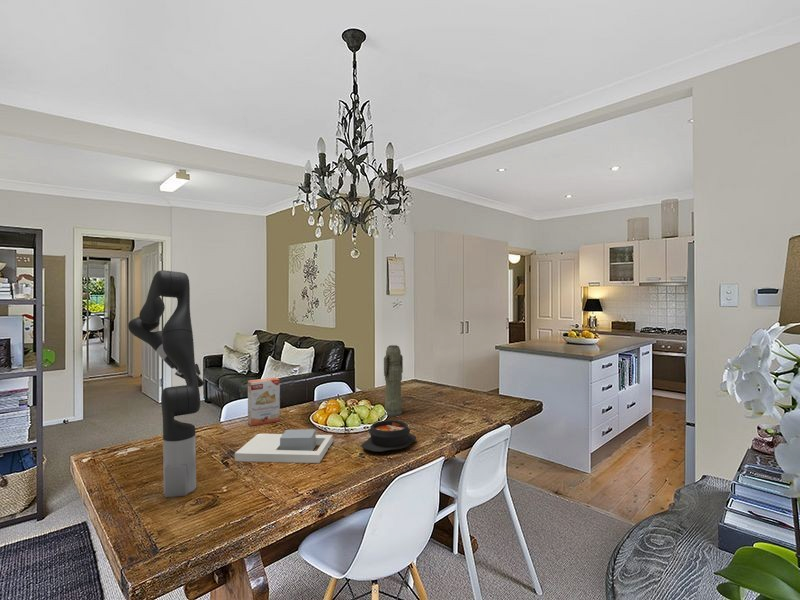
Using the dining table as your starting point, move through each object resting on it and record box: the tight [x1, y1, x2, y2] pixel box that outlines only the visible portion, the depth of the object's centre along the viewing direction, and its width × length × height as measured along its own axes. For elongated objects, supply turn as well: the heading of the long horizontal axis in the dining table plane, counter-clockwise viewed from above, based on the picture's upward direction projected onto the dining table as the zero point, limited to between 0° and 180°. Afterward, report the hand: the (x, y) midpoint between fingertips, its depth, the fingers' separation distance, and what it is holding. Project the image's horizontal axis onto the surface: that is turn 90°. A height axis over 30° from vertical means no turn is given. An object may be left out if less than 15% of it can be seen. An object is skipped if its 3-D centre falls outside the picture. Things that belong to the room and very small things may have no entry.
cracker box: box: [247, 376, 281, 427], centre depth 206 cm, size 14×6×21 cm, turn 125°
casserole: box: [361, 419, 417, 453], centre depth 174 cm, size 25×19×8 cm
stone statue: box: [383, 344, 404, 417], centre depth 220 cm, size 9×12×35 cm
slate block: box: [280, 428, 317, 451], centre depth 169 cm, size 10×12×7 cm
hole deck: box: [234, 433, 334, 464], centre depth 169 cm, size 22×32×3 cm
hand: (202, 385), depth 168 cm, fingers closed
